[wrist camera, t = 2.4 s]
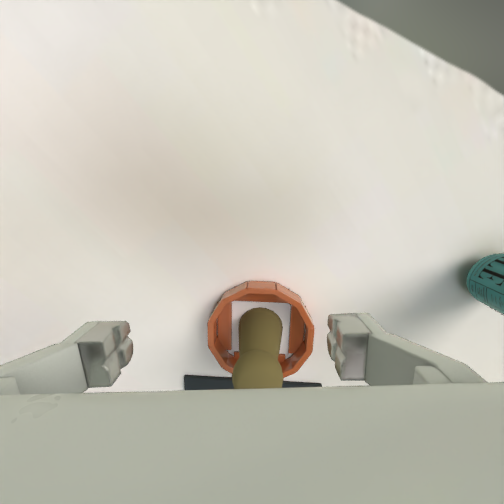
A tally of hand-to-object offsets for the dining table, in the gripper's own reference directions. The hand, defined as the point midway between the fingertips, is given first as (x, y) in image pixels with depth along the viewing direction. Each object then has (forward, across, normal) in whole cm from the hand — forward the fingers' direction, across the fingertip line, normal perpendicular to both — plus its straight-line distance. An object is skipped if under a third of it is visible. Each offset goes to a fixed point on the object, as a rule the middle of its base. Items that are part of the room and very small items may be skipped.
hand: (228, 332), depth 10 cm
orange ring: (+22, -1, +13) cm, 25 cm away
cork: (+22, -1, +13) cm, 26 cm away
